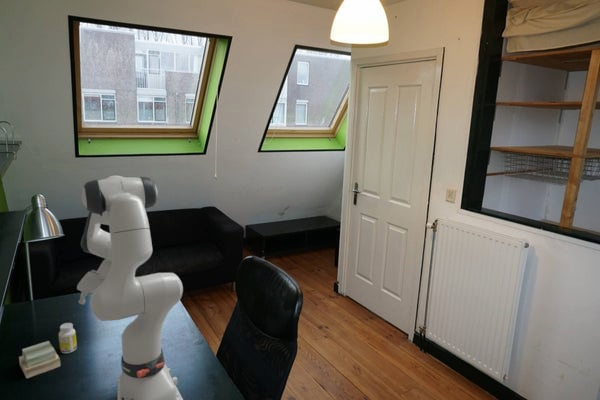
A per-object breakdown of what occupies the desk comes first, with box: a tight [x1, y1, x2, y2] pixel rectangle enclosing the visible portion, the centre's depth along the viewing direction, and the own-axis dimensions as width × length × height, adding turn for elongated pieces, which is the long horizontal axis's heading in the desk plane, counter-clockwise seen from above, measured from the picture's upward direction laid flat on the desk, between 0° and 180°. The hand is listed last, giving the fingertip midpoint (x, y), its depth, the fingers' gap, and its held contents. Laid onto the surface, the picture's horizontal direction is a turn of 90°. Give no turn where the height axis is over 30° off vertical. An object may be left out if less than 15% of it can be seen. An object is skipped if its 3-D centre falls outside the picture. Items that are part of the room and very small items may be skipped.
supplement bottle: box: [58, 322, 78, 354], centre depth 149 cm, size 5×5×10 cm
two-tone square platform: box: [18, 340, 61, 379], centre depth 140 cm, size 10×10×6 cm
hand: (89, 306), depth 156 cm, fingers open, 8 cm apart
